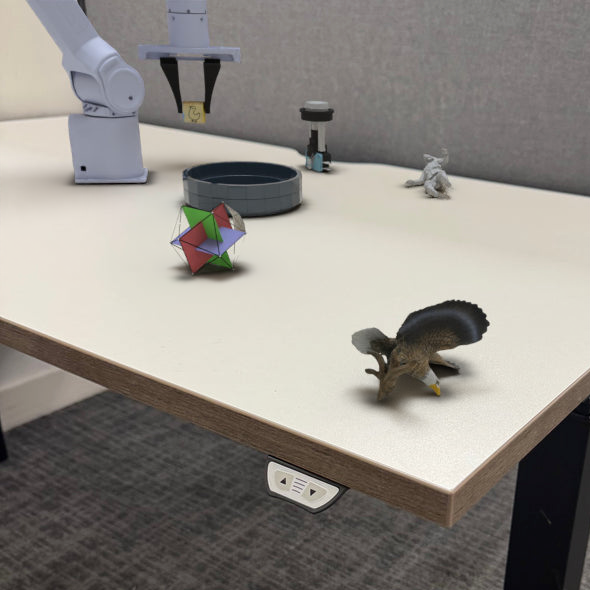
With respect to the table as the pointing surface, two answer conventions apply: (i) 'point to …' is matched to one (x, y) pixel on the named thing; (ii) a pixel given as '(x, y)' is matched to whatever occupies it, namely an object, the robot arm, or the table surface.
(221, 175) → the bowl
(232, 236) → the geometric puzzle
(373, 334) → the eagle figurine
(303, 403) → the table surface
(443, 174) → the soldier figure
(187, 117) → the alphabet block
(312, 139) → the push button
